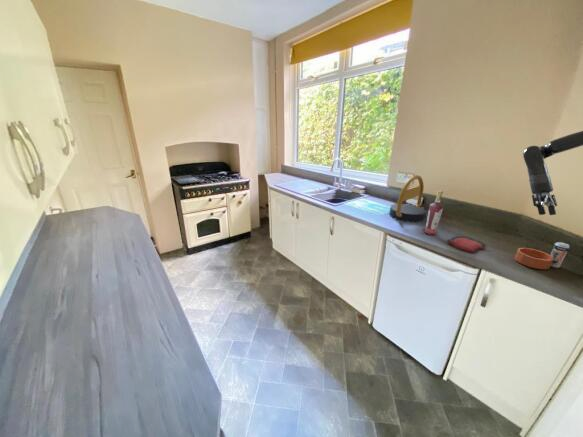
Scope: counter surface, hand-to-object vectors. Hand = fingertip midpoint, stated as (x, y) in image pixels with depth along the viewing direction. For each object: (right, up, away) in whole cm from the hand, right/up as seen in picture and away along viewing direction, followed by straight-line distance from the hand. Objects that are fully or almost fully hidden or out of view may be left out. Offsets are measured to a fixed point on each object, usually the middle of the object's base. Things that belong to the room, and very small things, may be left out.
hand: (547, 214), depth 118 cm
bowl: (-9, -24, 0) cm, 26 cm away
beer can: (0, -25, -2) cm, 25 cm away
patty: (-29, -18, +17) cm, 38 cm away
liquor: (-41, -12, +32) cm, 53 cm away
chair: (-41, -1, +61) cm, 74 cm away
